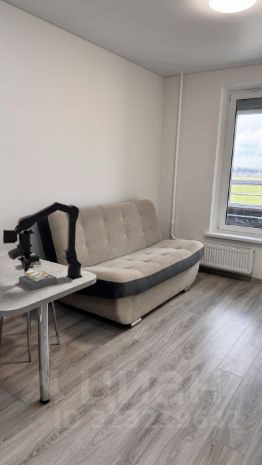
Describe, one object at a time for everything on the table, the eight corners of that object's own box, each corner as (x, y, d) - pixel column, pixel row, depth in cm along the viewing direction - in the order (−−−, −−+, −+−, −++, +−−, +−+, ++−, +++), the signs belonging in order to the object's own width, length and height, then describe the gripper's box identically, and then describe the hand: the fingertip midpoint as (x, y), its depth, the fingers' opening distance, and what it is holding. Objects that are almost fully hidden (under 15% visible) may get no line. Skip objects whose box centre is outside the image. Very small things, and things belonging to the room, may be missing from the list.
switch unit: (43, 276, 177) (42, 270, 176) (56, 283, 167) (56, 277, 167) (19, 282, 167) (18, 276, 166) (32, 289, 157) (32, 283, 157)
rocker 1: (33, 272, 171) (32, 269, 170) (35, 274, 169) (35, 271, 168) (23, 275, 167) (23, 271, 167) (26, 276, 165) (26, 273, 165)
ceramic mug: (23, 268, 189) (23, 255, 188) (23, 264, 197) (22, 252, 195) (42, 267, 193) (42, 254, 191) (41, 263, 201) (41, 251, 199)
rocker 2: (37, 274, 168) (36, 271, 167) (40, 275, 166) (39, 272, 165) (28, 277, 164) (27, 274, 164) (31, 279, 162) (30, 276, 162)
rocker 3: (42, 276, 165) (41, 273, 164) (45, 277, 163) (44, 274, 162) (32, 280, 161) (32, 277, 161) (36, 281, 159) (35, 278, 159)
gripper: (1, 241, 164) (2, 270, 167) (18, 248, 151) (19, 279, 154) (21, 238, 171) (22, 266, 174) (39, 245, 159) (40, 275, 162)
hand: (25, 271), depth 166 cm, fingers closed
